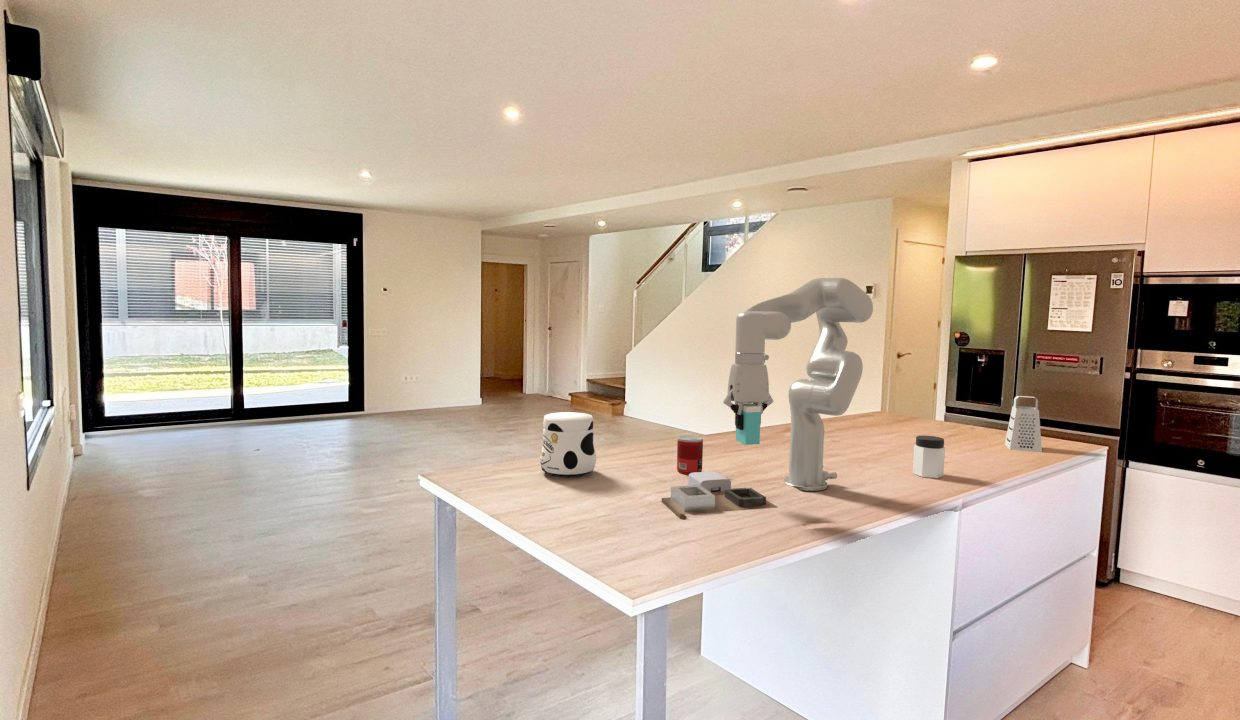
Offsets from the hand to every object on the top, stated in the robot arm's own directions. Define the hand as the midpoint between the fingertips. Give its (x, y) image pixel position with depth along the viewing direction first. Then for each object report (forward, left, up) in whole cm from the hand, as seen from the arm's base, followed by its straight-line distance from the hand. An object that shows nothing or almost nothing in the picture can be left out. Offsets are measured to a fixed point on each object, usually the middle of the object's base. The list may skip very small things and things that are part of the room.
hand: (747, 427), depth 171 cm
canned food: (+2, -35, -21) cm, 41 cm away
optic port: (+15, 0, -21) cm, 26 cm away
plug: (0, 0, -4) cm, 4 cm away
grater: (-139, -43, -21) cm, 147 cm away
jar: (-72, -16, -21) cm, 77 cm away
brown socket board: (+8, 0, -21) cm, 22 cm away
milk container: (+40, -41, -21) cm, 61 cm away
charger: (+5, -17, -21) cm, 27 cm away
